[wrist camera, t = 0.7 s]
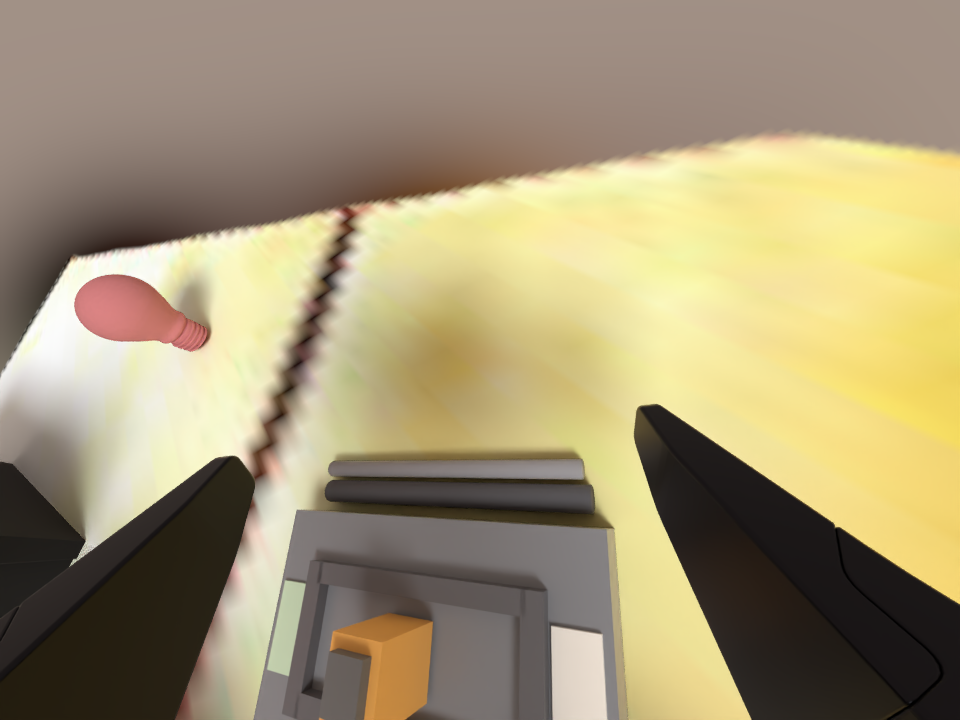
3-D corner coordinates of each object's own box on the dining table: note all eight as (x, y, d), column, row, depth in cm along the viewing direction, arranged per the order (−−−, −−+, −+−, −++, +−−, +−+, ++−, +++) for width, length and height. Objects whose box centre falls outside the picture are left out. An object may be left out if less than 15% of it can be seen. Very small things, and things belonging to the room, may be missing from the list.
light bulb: (199, 313, 51) (84, 262, 41) (230, 314, 48) (112, 259, 38) (176, 363, 49) (48, 323, 39) (206, 368, 46) (74, 325, 36)
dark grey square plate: (620, 943, 16) (615, 981, 15) (284, 782, 25) (262, 797, 23) (592, 460, 24) (587, 456, 22) (340, 462, 32) (326, 459, 31)
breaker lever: (426, 703, 20) (360, 752, 16) (380, 689, 21) (307, 731, 17) (433, 621, 21) (373, 646, 17) (388, 612, 22) (323, 634, 18)
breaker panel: (639, 876, 17) (632, 959, 14) (287, 734, 26) (233, 764, 23) (614, 528, 22) (604, 529, 19) (327, 510, 31) (287, 509, 28)
